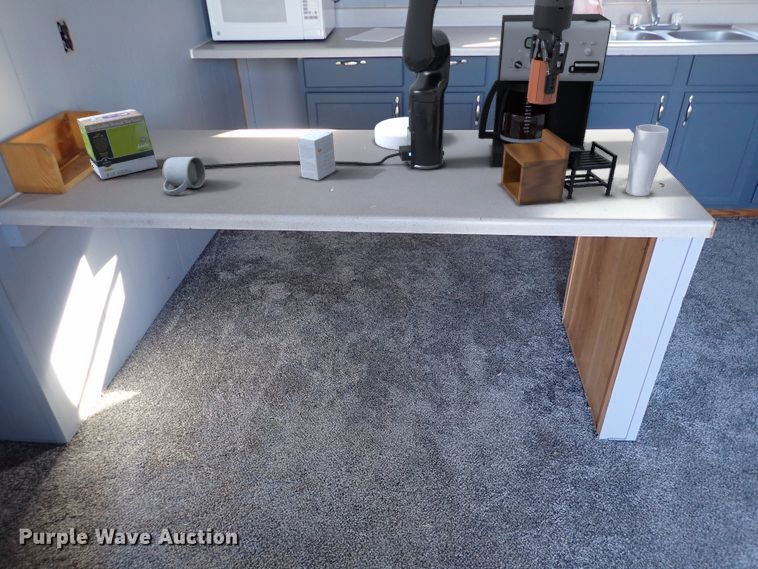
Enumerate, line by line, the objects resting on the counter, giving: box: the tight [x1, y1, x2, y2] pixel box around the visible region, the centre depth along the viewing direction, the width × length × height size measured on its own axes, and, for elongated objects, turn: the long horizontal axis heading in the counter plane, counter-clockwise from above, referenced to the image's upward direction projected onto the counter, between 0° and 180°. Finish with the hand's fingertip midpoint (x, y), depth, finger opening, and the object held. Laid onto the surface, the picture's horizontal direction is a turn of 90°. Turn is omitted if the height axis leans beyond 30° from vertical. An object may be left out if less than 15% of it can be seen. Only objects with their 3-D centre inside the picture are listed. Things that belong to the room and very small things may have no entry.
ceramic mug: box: [161, 156, 206, 196], centre depth 136 cm, size 11×8×8 cm
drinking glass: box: [625, 123, 670, 197], centre depth 123 cm, size 7×7×15 cm
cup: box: [527, 57, 561, 104], centre depth 116 cm, size 6×6×8 cm
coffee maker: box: [477, 13, 612, 170], centre depth 142 cm, size 28×20×35 cm
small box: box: [297, 129, 336, 181], centre depth 141 cm, size 8×6×10 cm
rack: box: [564, 140, 619, 200], centre depth 127 cm, size 10×11×10 cm
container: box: [374, 116, 409, 151], centre depth 166 cm, size 20×20×5 cm
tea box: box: [76, 108, 158, 180], centre depth 147 cm, size 15×10×15 cm, turn 126°
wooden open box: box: [500, 129, 570, 206], centre depth 125 cm, size 10×13×13 cm
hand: (542, 90), depth 117 cm, fingers closed on cup, 6 cm apart
